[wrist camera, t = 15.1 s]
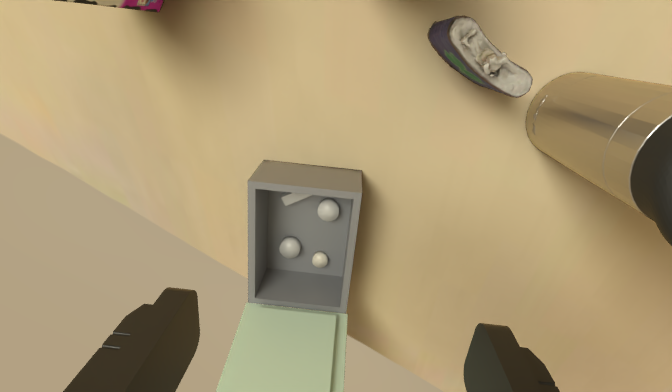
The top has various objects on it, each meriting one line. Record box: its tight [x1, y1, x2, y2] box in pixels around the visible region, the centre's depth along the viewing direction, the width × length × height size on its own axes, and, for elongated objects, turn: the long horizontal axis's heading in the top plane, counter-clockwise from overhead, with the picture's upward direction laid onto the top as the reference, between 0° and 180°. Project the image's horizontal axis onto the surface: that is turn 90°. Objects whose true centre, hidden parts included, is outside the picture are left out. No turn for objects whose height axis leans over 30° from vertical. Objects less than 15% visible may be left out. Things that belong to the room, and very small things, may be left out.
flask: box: [428, 16, 533, 98], centre depth 34 cm, size 9×3×11 cm, turn 52°
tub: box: [248, 160, 362, 314], centre depth 45 cm, size 12×16×7 cm
